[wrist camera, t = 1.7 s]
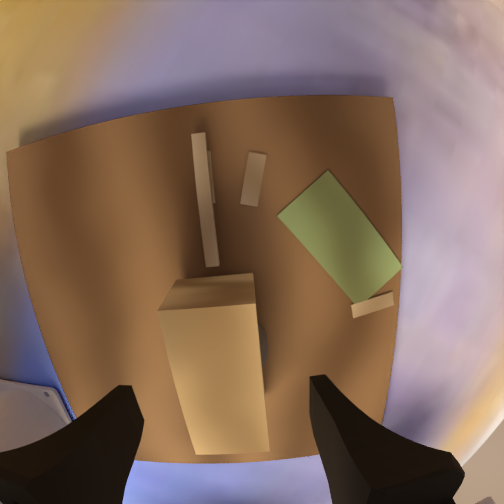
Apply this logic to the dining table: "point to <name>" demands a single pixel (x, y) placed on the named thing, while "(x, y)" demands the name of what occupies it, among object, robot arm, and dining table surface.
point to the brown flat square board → (229, 249)
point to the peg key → (216, 344)
